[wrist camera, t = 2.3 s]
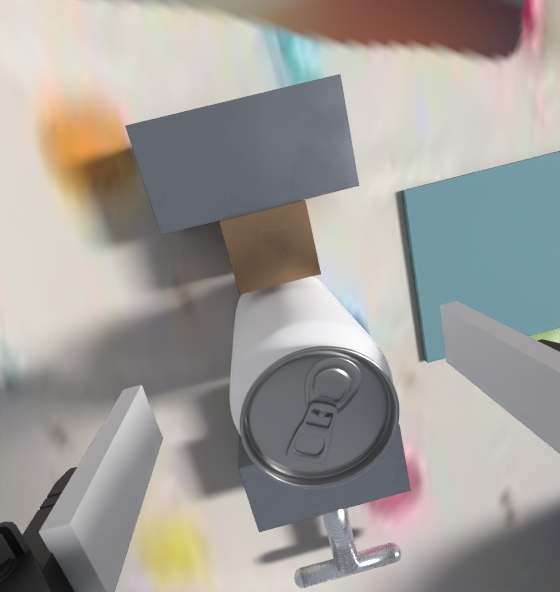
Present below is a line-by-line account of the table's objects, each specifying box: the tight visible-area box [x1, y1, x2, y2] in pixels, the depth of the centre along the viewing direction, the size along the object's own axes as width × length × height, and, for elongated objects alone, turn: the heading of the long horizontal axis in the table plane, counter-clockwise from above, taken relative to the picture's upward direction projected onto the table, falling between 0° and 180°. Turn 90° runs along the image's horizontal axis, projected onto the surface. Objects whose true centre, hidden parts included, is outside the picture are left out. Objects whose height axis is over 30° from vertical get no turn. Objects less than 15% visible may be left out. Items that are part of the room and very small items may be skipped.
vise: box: [125, 74, 411, 588], centre depth 22 cm, size 32×10×6 cm, turn 13°
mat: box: [402, 151, 560, 363], centre depth 24 cm, size 12×12×1 cm
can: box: [230, 276, 399, 489], centre depth 18 cm, size 6×6×12 cm
